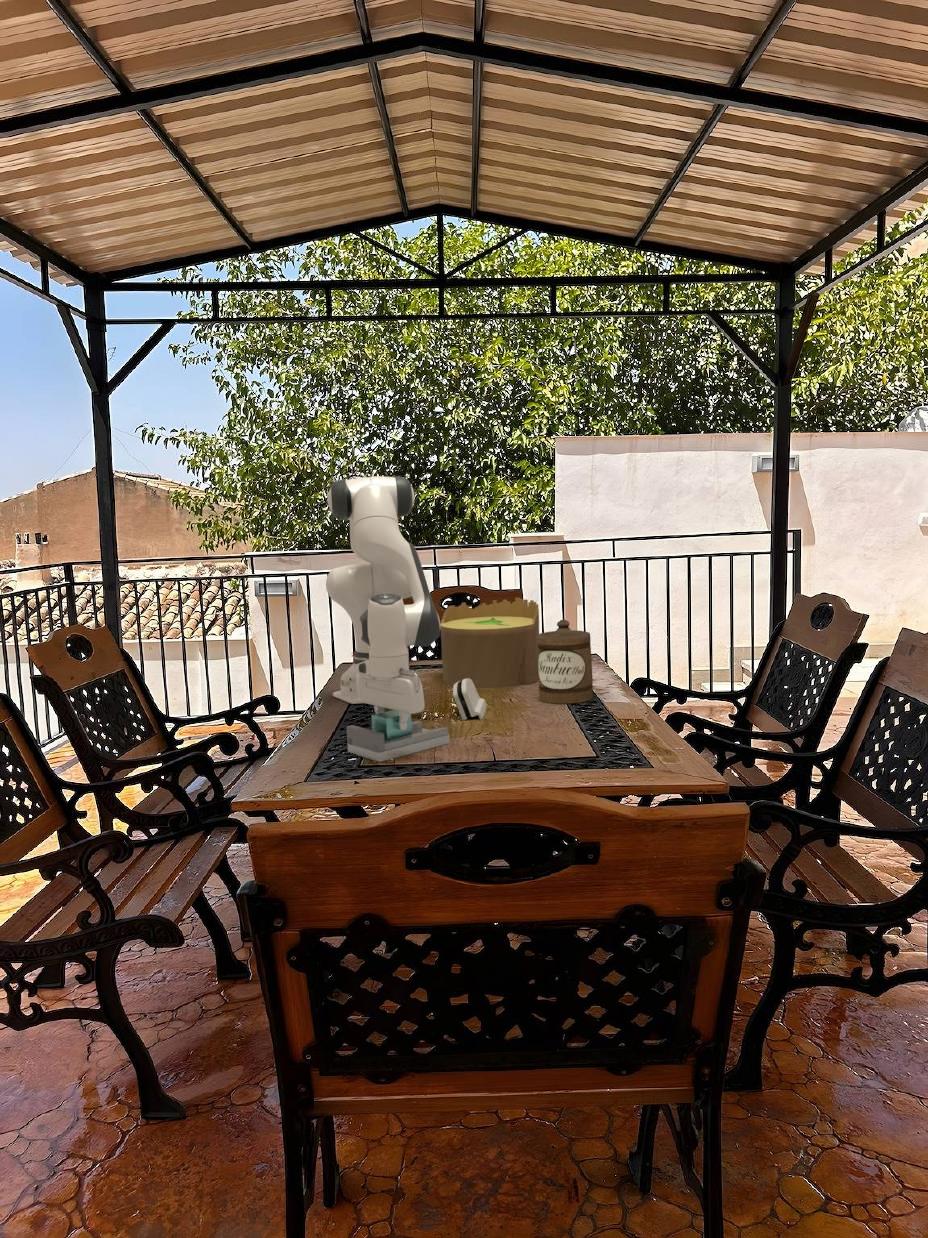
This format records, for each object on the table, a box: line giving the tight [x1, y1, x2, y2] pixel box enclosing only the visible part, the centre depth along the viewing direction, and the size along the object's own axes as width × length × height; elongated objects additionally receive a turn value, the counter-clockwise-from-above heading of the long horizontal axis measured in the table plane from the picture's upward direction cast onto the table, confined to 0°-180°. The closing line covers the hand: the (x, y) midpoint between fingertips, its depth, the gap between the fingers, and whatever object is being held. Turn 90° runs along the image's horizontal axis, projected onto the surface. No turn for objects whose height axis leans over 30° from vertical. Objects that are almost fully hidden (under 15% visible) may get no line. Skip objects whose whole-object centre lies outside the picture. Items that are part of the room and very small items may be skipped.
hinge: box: [452, 678, 488, 721], centre depth 237 cm, size 17×5×10 cm, turn 174°
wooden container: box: [537, 619, 594, 705], centre depth 248 cm, size 15×15×22 cm
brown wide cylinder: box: [440, 597, 540, 689], centre depth 282 cm, size 32×35×24 cm
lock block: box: [371, 709, 412, 741], centre depth 203 cm, size 6×8×5 cm
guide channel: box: [345, 720, 451, 763], centre depth 204 cm, size 12×20×6 cm, turn 131°
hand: (392, 727), depth 203 cm, fingers closed on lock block, 5 cm apart
